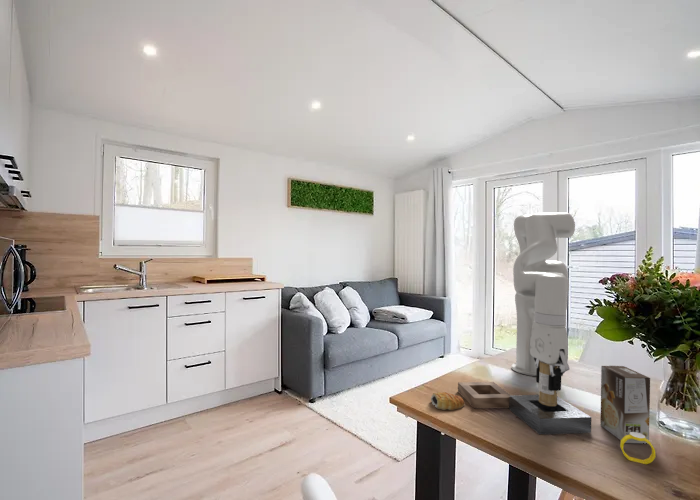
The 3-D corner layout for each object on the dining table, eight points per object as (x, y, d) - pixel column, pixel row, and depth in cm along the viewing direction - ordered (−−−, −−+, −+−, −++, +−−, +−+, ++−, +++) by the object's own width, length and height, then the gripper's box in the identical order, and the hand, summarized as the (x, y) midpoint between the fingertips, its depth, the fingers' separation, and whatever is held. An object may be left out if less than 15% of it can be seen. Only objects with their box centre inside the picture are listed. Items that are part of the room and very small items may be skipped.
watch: (622, 461, 79) (621, 434, 79) (620, 455, 81) (618, 429, 82) (657, 468, 76) (655, 440, 76) (653, 461, 79) (651, 434, 79)
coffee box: (650, 444, 86) (652, 378, 86) (623, 443, 86) (625, 377, 86) (622, 425, 95) (624, 365, 95) (598, 424, 95) (600, 364, 95)
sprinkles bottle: (560, 404, 96) (561, 355, 96) (551, 408, 94) (552, 357, 94) (543, 398, 100) (544, 350, 100) (534, 402, 98) (535, 353, 98)
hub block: (554, 408, 105) (554, 394, 105) (591, 432, 91) (591, 417, 91) (509, 409, 103) (509, 395, 103) (539, 434, 89) (539, 418, 89)
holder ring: (493, 390, 116) (493, 381, 116) (513, 407, 104) (514, 397, 104) (457, 391, 115) (458, 382, 115) (474, 408, 103) (474, 398, 103)
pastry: (457, 400, 109) (458, 388, 109) (468, 410, 103) (469, 397, 102) (429, 402, 108) (429, 389, 108) (438, 412, 101) (438, 399, 101)
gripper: (519, 313, 105) (517, 375, 105) (558, 326, 88) (556, 399, 88) (543, 313, 106) (541, 375, 106) (586, 326, 89) (584, 399, 89)
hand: (548, 385), depth 97 cm, fingers closed on sprinkles bottle, 4 cm apart
